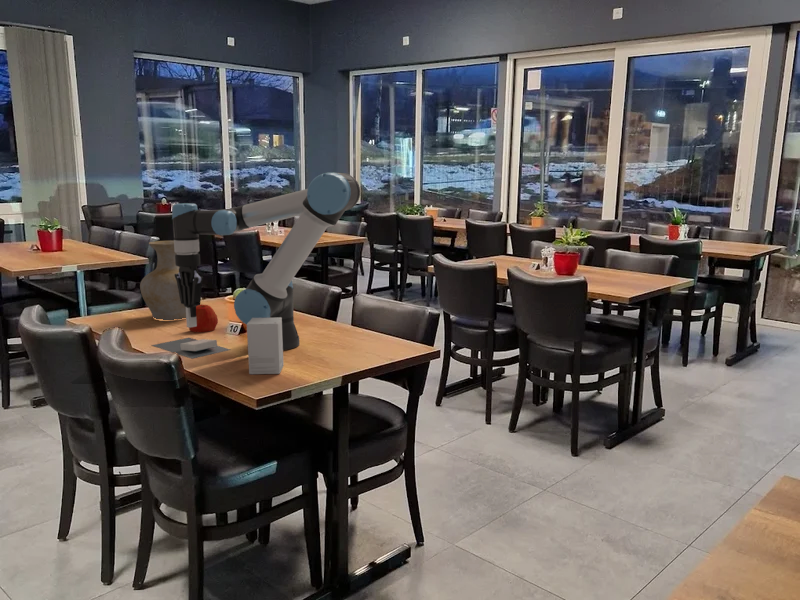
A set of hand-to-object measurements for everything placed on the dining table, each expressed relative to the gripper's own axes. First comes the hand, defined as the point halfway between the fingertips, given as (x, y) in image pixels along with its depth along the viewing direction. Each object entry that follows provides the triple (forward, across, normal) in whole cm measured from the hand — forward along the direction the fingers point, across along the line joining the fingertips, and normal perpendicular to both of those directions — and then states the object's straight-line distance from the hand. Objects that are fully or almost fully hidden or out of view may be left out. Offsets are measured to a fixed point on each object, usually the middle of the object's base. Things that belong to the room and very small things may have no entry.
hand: (191, 326), depth 213 cm
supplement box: (+9, -34, -3) cm, 35 cm away
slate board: (+8, +1, 0) cm, 8 cm away
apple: (+9, +20, -17) cm, 28 cm away
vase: (+8, +51, -22) cm, 57 cm away
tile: (+6, 0, 0) cm, 6 cm away
